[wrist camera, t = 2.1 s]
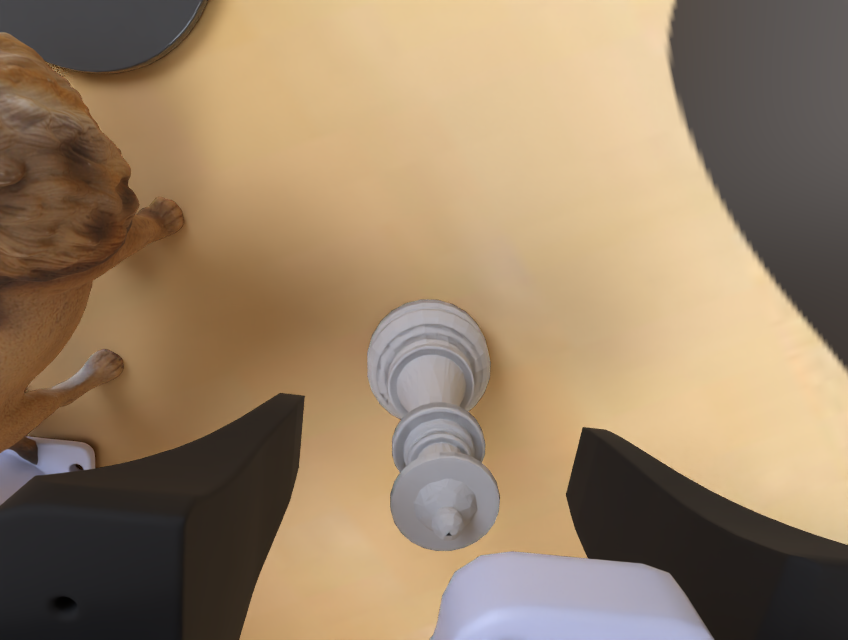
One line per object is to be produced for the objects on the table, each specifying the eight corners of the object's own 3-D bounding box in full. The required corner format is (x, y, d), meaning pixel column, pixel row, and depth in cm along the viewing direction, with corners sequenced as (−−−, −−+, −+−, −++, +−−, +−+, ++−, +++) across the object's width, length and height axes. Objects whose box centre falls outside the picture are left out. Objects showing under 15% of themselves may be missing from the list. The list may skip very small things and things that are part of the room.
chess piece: (508, 366, 20) (601, 550, 11) (414, 429, 21) (424, 657, 11) (441, 273, 19) (478, 389, 10) (343, 343, 20) (288, 516, 10)
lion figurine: (58, 40, 17) (-299, -80, 8) (224, 109, 18) (55, 65, 9) (-23, 433, 21) (-327, 632, 12) (118, 477, 21) (-74, 692, 13)
